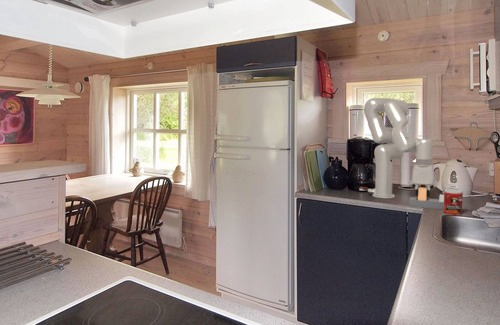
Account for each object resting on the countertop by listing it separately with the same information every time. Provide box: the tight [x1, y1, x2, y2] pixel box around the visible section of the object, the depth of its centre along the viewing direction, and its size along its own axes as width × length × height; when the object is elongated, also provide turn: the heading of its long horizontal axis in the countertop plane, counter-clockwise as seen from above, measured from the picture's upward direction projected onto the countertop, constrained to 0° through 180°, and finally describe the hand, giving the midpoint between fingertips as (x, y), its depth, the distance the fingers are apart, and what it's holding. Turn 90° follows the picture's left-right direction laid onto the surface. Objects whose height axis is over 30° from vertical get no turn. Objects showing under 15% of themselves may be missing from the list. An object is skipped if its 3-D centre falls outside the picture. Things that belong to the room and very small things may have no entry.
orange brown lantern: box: [417, 184, 428, 201], centre depth 181 cm, size 4×4×10 cm
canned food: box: [443, 188, 464, 216], centre depth 165 cm, size 8×8×11 cm
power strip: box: [408, 193, 444, 211], centre depth 178 cm, size 20×8×6 cm, turn 59°
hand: (422, 196), depth 180 cm, fingers closed on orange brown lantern, 4 cm apart
